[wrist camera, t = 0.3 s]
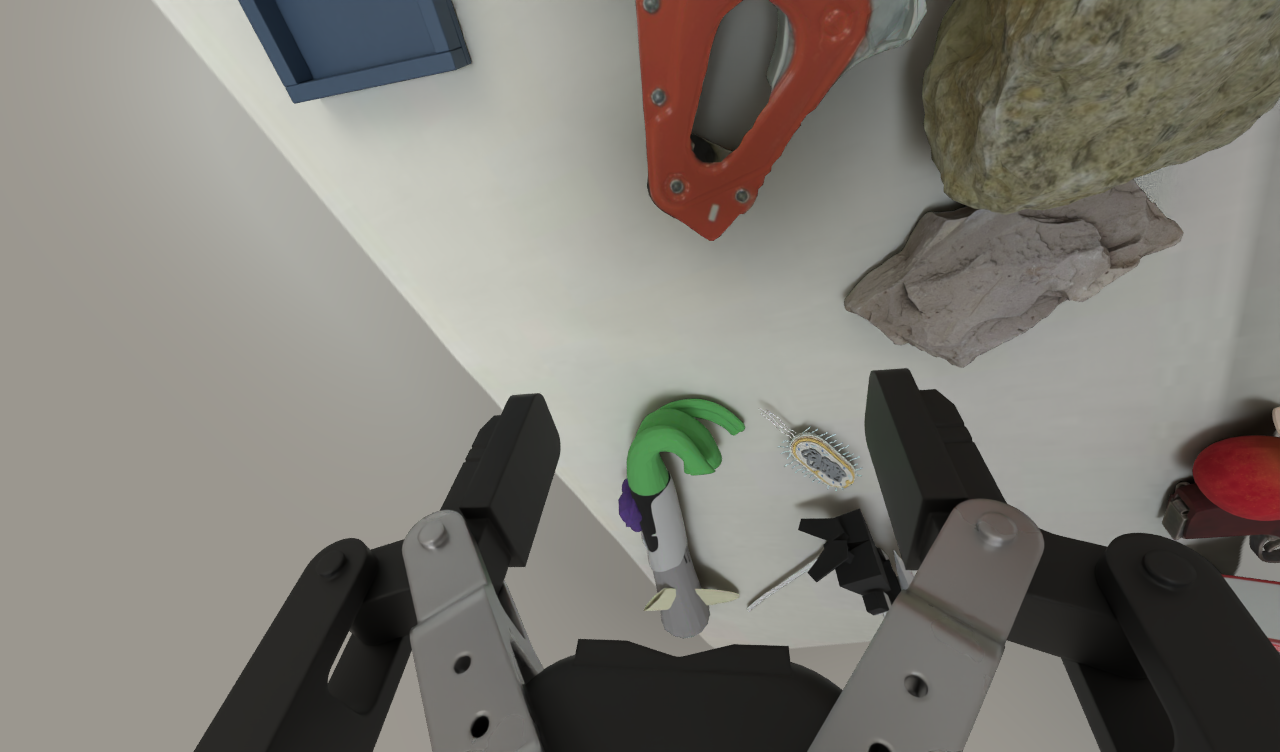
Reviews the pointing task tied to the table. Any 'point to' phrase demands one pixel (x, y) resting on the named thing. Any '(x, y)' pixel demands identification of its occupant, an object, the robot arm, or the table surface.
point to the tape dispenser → (799, 77)
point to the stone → (1006, 269)
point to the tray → (355, 42)
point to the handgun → (1217, 522)
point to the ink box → (1260, 603)
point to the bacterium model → (820, 457)
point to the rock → (1090, 92)
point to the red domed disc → (1243, 474)
